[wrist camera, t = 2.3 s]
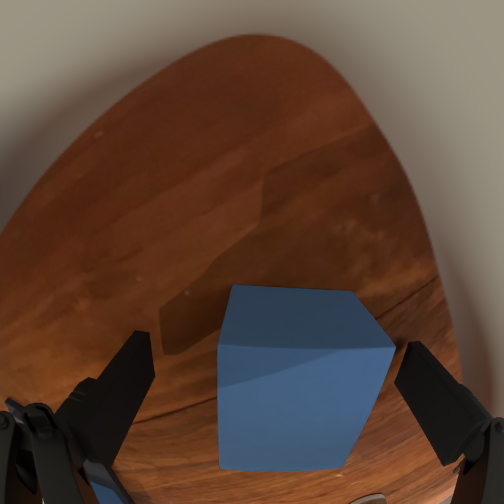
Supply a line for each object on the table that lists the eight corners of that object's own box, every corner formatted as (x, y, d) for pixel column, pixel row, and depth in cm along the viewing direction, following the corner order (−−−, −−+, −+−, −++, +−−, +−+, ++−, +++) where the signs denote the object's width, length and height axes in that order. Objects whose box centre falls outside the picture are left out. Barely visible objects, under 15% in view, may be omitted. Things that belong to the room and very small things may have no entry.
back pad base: (7, 397, 16) (-11, 417, 12) (95, 440, 16) (78, 470, 12) (65, 482, 20) (56, 499, 17) (140, 511, 20) (134, 532, 17)
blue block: (232, 283, 12) (216, 344, 7) (352, 290, 12) (397, 346, 7) (228, 398, 14) (219, 469, 9) (324, 400, 14) (342, 467, 9)
